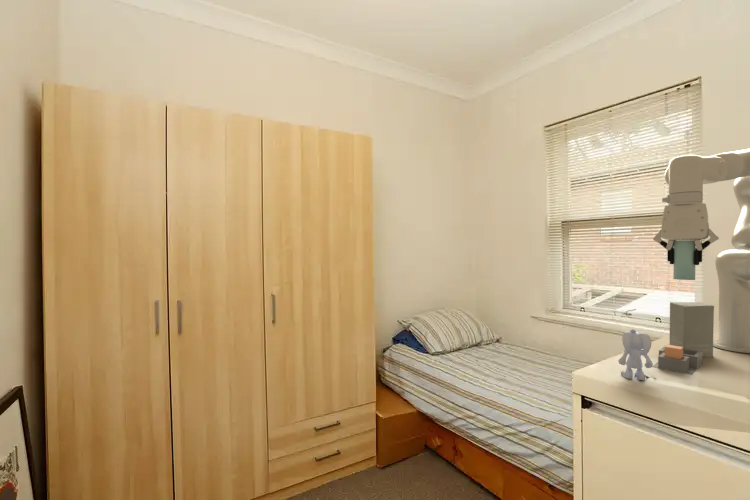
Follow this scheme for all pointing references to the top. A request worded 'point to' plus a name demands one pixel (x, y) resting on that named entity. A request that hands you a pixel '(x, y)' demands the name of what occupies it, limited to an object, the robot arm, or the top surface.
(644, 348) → the toy figurine
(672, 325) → the skincare box
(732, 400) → the top surface
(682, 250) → the cartridge
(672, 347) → the plunger
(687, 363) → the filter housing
